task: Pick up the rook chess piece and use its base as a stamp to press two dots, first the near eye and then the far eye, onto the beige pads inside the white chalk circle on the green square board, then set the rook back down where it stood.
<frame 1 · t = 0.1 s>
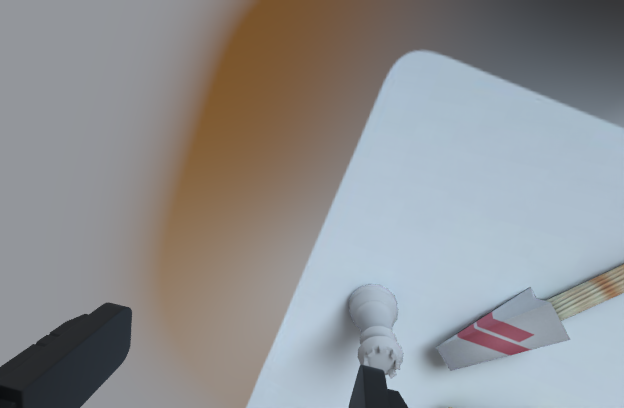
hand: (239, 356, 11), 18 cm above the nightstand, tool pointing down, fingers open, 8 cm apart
grey trowel: (541, 301, 28), on the nightstand
rook chess piece: (372, 301, 30), on the nightstand
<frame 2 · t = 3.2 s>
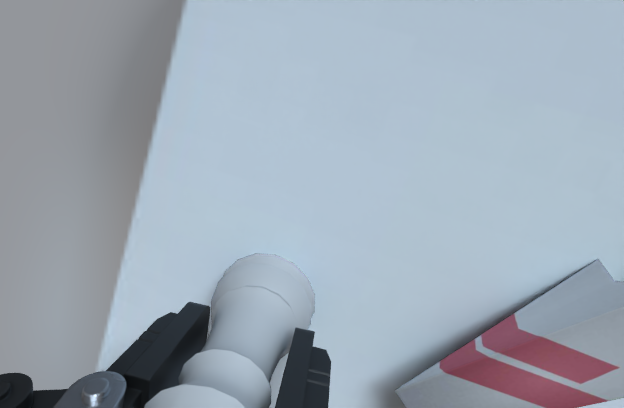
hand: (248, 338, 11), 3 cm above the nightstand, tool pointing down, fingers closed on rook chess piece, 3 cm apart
grey trowel: (620, 289, 13), on the nightstand
rook chess piece: (269, 291, 15), on the nightstand, touching gripper
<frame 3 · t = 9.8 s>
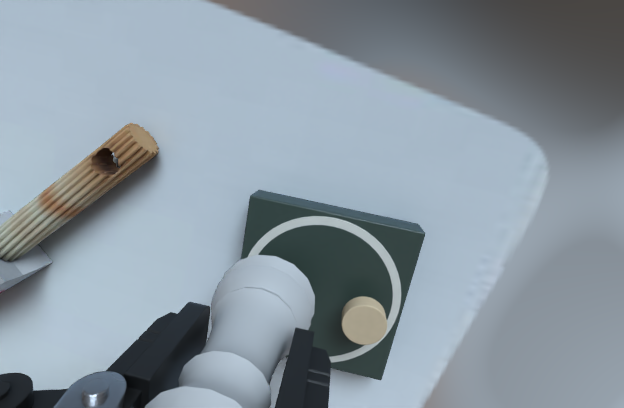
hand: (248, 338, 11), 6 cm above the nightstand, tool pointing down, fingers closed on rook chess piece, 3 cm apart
green square board: (321, 279, 17), on the nightstand
grey trowel: (37, 232, 19), on the nightstand
rook chess piece: (269, 292, 15), point 3 cm above the nightstand, touching gripper
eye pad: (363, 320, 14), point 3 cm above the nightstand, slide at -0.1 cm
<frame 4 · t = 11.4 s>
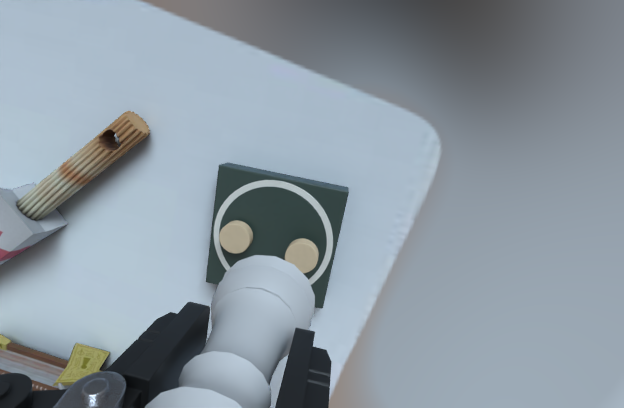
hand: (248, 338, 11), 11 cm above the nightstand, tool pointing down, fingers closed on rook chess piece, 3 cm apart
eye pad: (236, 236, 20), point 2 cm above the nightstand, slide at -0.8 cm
green square board: (277, 232, 22), on the nightstand
grey trowel: (55, 200, 23), on the nightstand
rook chess piece: (269, 293, 15), point 8 cm above the nightstand, touching gripper
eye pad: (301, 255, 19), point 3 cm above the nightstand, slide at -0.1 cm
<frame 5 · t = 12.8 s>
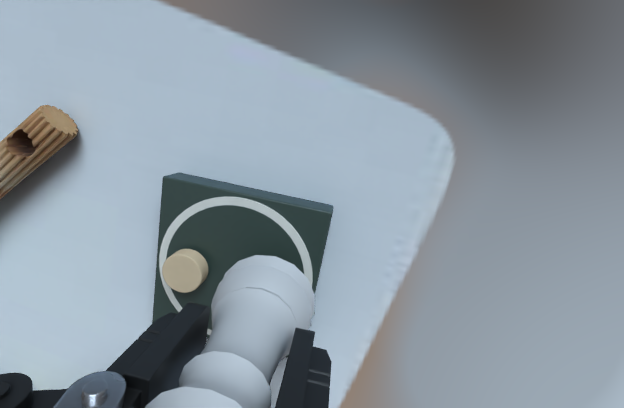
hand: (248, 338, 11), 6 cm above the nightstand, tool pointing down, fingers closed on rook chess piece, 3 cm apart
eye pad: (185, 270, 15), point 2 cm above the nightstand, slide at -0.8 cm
green square board: (244, 261, 17), on the nightstand
rook chess piece: (270, 293, 15), point 3 cm above the nightstand, touching gripper, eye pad
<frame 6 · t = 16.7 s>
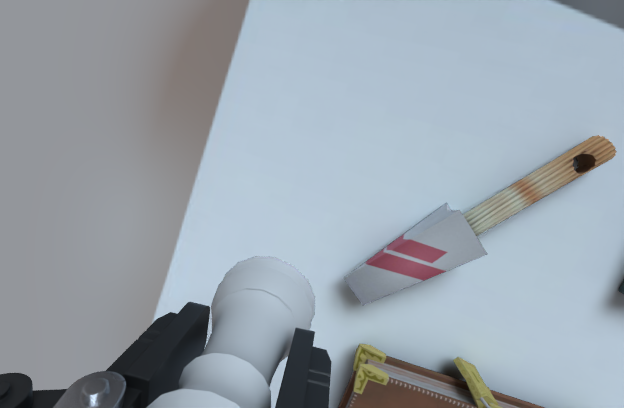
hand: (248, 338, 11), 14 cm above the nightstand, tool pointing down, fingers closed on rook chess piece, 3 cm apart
grey trowel: (461, 219, 24), on the nightstand
rook chess piece: (270, 294, 15), point 11 cm above the nightstand, touching gripper
when the fingers open (3 cm above the nightstand, at t = 19.7 s): rook chess piece stays where it is, on the nightstand.
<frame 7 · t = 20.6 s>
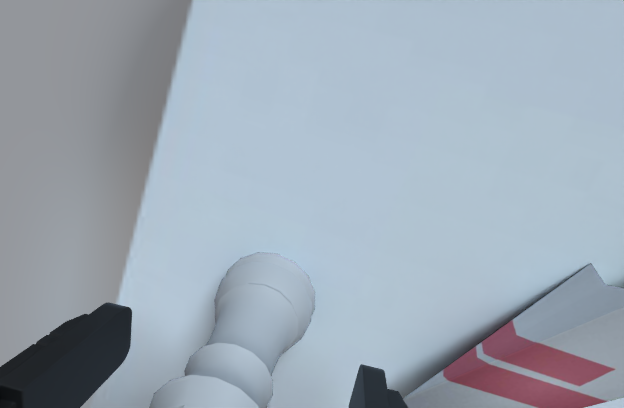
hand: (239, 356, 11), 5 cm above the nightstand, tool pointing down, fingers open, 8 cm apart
grey trowel: (614, 291, 13), on the nightstand
rook chess piece: (271, 289, 15), on the nightstand
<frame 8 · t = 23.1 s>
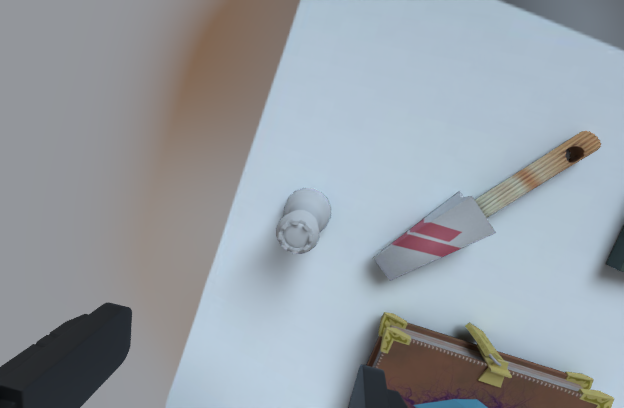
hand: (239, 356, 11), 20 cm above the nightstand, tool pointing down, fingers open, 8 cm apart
grey trowel: (472, 205, 28), on the nightstand
rook chess piece: (308, 209, 30), on the nightstand
book: (474, 393, 33), on the nightstand
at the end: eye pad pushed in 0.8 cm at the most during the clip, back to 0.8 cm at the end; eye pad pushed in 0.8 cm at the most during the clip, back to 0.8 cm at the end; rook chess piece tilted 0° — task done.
